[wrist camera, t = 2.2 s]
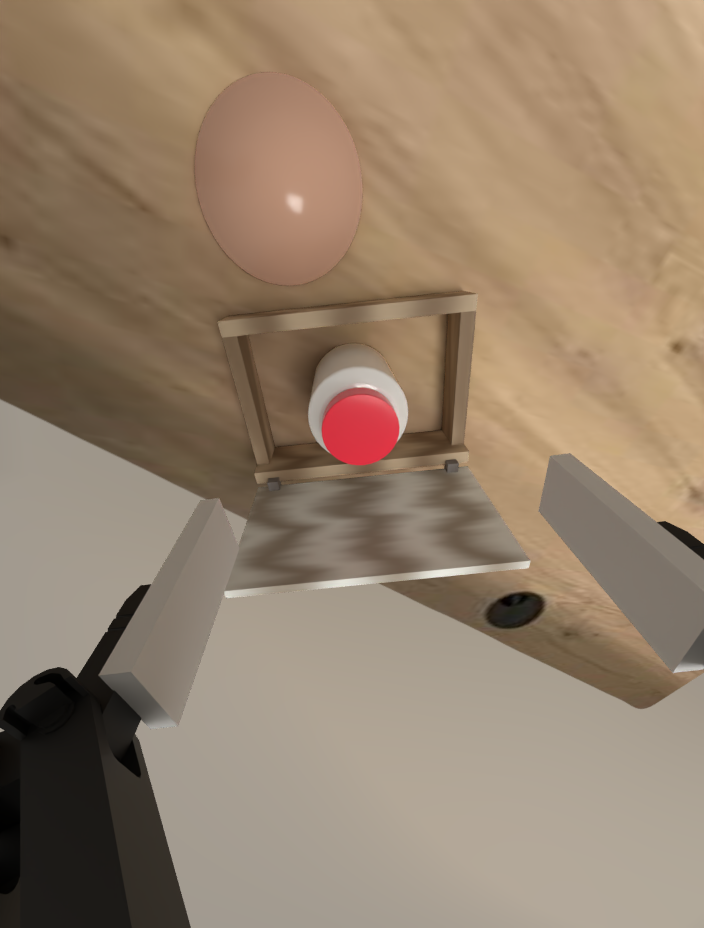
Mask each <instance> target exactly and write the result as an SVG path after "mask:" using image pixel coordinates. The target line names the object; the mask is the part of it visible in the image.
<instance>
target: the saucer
mask: <svg viewBox="0 0 704 928" xmlns="http://www.w3.org/2000/svg"><path fill="white" fill-rule="evenodd" d="M195 180H196V189H197V193H198V198H199V202H200V206H201V209H202V212H203V215H204V217H205V220H206V222H207V224H208V227H209V229H210V230H211V232H212V234H213V236H214V238H215V239H216V241H217V242H218V244H219V245H220V247H221V248H222V249H223V250H224V252H225V253H226V254H227V255H228V256H229V257H230V259H232V260H233V261H234V262H235V263H236V264H237V265H238V266H239V267H240V268H242V269H243V270H245V271H246V272H247V273H249V274H251V275H252V276H254V277H256V278H258V279H260V280H263V281H265V282H268V283H272V284H276V285H285V286H291V285H300V284H305V283H308V282H311V281H314V280H316V279H318V278H320V277H322V276H323V275H325V274H326V273H327V272H329V271H330V270H331V269H332V268H333V267H334V266H335V265H336V264H337V263H338V262H339V261H340V260H341V259H342V257H343V256H344V255H345V253H346V252H347V250H348V248H349V247H350V245H351V243H352V240H353V238H354V236H355V234H356V230H357V227H358V224H359V220H360V215H361V210H362V199H363V182H362V173H361V167H360V162H359V157H358V154H357V151H356V147H355V144H354V141H353V139H352V137H351V135H350V132H349V130H348V128H347V126H346V125H345V123H344V121H343V119H342V118H341V116H340V115H339V113H338V112H337V111H336V109H335V108H334V107H333V105H332V104H331V103H330V102H329V101H328V100H327V99H326V98H325V97H324V96H323V95H322V94H321V93H320V92H319V91H317V90H316V89H315V88H313V87H312V86H311V85H309V84H307V83H306V82H304V81H302V80H300V79H298V78H295V77H293V76H290V75H287V74H282V73H276V72H261V73H256V74H251V75H248V76H246V77H243V78H241V79H239V80H237V81H236V82H234V83H233V84H231V85H230V86H228V87H227V88H226V89H225V90H224V91H223V92H222V93H221V94H220V95H219V96H218V97H217V98H216V100H215V101H214V102H213V104H212V105H211V107H210V109H209V110H208V112H207V114H206V116H205V118H204V120H203V123H202V126H201V129H200V131H199V136H198V140H197V144H196V153H195Z"/></svg>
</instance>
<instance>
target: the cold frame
mask: <svg viewBox="0 0 704 928" xmlns="http://www.w3.org/2000/svg"><path fill="white" fill-rule="evenodd" d="M477 297H478V294H476V293H471V292H466V291H457V292H448V293H438V294H429V295H420V296H410V297H401V298H391V299H382V300H373V301H363V302H354V303H344V304H335V305H326V306H316V307H307V308H297V309H288V310H279V311H269V312H260V313H250V314H241V315H232V316H228V317H226V318H224V319H222V320H220V321H217V322H218V326H219V329H220V333H221V336H222V340H223V344H224V347H225V351H226V354H227V358H228V362H229V365H230V369H231V372H232V376H233V379H234V383H235V387H236V390H237V394H238V397H239V401H240V404H241V408H242V412H243V415H244V419H245V422H246V426H247V429H248V433H249V437H250V440H251V444H252V447H253V451H254V454H255V458H256V462H257V468H256V470H255V473H254V474H255V477H256V481H257V484H260V483H267V484H268V487H259V488H258V490H257V493H256V496H255V499H254V502H253V505H252V508H251V511H250V514H249V517H248V520H247V523H246V526H245V529H244V532H243V535H242V537H241V541H240V543H239V551H238V554H237V557H236V560H235V563H234V566H233V569H232V571H231V574H230V577H229V580H228V583H227V586H226V589H225V592H224V594H225V596H226V598H232V597H243V596H253V595H263V594H273V593H283V592H292V591H302V590H313V589H323V588H333V587H343V586H353V585H363V584H373V583H383V582H394V581H404V580H414V579H424V578H434V577H444V576H454V575H464V574H474V573H484V572H494V571H504V570H514V569H524V568H529V564H530V559H529V558H528V556H527V555H526V553H525V552H524V550H523V549H522V547H521V546H520V544H519V543H518V541H517V540H516V538H515V537H514V535H513V534H512V532H511V531H510V529H509V528H508V526H507V525H506V523H505V522H504V520H503V519H502V517H501V516H500V514H499V513H498V511H497V510H496V508H495V507H494V505H493V504H492V502H491V501H490V499H489V498H488V496H487V495H486V493H485V492H484V490H483V489H482V487H481V486H480V484H479V483H478V481H477V480H476V478H475V477H474V475H473V474H472V472H471V471H470V469H469V468H468V466H465V467H458V465H459V463H466V462H468V458H469V450H468V449H467V448H466V446H465V445H464V437H465V426H466V416H467V405H468V394H469V383H470V372H471V361H472V351H473V340H474V329H475V318H476V307H477ZM440 314H448V321H447V340H446V359H445V378H444V397H443V416H442V430H438V431H428V432H419V433H409V434H402V436H401V438H400V439H399V440H398V442H397V443H396V444H395V446H394V448H393V449H392V450H391V452H390V453H389V454H388V455H386V456H385V457H384V458H382V459H381V460H379V461H377V462H374V463H372V464H367V465H351V464H347V463H344V462H342V461H340V460H338V459H336V458H335V457H334V456H333V455H332V454H330V453H329V452H327V451H326V450H325V449H324V448H322V447H321V446H320V444H319V443H312V444H302V445H292V446H283V447H275V445H274V441H273V437H272V433H271V428H270V424H269V420H268V416H267V412H266V408H265V403H264V399H263V395H262V391H261V387H260V383H259V378H258V374H257V370H256V366H255V362H254V358H253V353H252V349H251V345H250V341H249V337H248V335H252V334H261V333H271V332H280V331H289V330H299V329H308V328H318V327H327V326H337V325H346V324H356V323H365V322H374V321H384V320H393V319H403V318H412V317H422V316H431V315H440ZM436 465H445V466H444V469H436V470H426V471H416V472H406V473H396V474H387V475H377V476H367V477H357V478H348V479H338V480H328V481H318V482H308V483H299V484H289V485H281V481H290V480H299V479H309V478H319V477H329V476H339V475H348V474H358V473H368V472H378V471H387V470H397V469H407V468H417V467H427V466H436Z"/></svg>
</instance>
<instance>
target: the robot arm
mask: <svg viewBox="0 0 704 928" xmlns="http://www.w3.org/2000/svg"><path fill="white" fill-rule="evenodd" d="M539 512H540V513H541V515H542V516H543V517H544V518H545V519H546V521H547V522H548V523H549V524H550V525H551V527H552V528H553V529H554V530H555V531H556V533H557V534H558V535H559V536H560V537H561V539H562V540H563V541H564V542H565V544H566V545H567V546H568V547H569V548H570V550H571V551H572V552H573V553H574V554H575V556H576V557H577V558H578V559H579V560H580V562H581V563H582V564H583V565H584V566H585V568H586V569H587V570H588V571H589V572H590V574H591V575H592V576H593V577H594V578H595V580H596V581H597V582H598V583H599V584H600V586H601V587H602V588H603V589H604V590H605V592H606V593H607V594H608V595H609V597H610V598H611V599H612V600H613V601H614V603H615V604H616V605H617V606H618V607H619V609H620V610H621V611H622V612H623V613H624V615H625V616H626V617H627V618H628V619H629V621H630V622H631V623H632V624H633V625H634V627H635V628H636V629H637V630H638V631H639V633H640V634H641V635H642V636H643V637H644V639H645V640H646V641H647V642H648V643H649V645H650V646H651V647H652V648H653V650H654V651H655V652H656V653H657V654H658V656H659V657H660V658H661V659H662V660H663V662H664V663H665V664H666V665H667V666H668V668H669V669H670V670H671V671H672V672H673V673H675V672H685V671H694V670H703V669H704V544H703V543H701V542H700V541H699V540H698V539H696V538H695V537H694V536H692V535H691V534H690V533H688V532H687V531H685V530H683V529H680V528H678V527H676V526H674V525H672V524H670V523H668V522H666V521H663V522H656V521H654V520H653V519H652V518H651V517H649V516H648V515H647V514H646V513H644V512H643V511H642V510H641V509H639V508H638V507H637V506H636V505H634V504H633V503H632V502H631V501H629V500H628V499H627V498H626V497H624V496H623V495H622V494H620V493H619V492H618V491H617V490H615V489H614V488H613V487H612V486H610V485H609V484H608V483H607V482H605V481H604V480H603V479H602V478H600V477H599V476H598V475H597V474H595V473H594V472H593V471H592V470H590V469H589V468H588V467H587V466H585V465H584V464H583V463H582V462H580V461H579V460H578V459H576V458H575V457H574V456H573V455H571V454H570V453H569V454H561V455H553V456H550V459H549V464H548V468H547V473H546V478H545V483H544V488H543V493H542V497H541V502H540V507H539ZM238 551H239V545H238V543H237V541H236V538H235V536H234V533H233V531H232V528H231V526H230V523H229V521H228V519H227V516H226V514H225V511H224V509H223V506H222V504H221V502H220V499H219V498H216V499H209V500H201V501H200V502H199V504H198V506H197V508H196V509H195V511H194V512H193V514H192V516H191V518H190V519H189V521H188V523H187V524H186V526H185V528H184V530H183V531H182V533H181V535H180V537H179V538H178V540H177V541H176V543H175V545H174V547H173V548H172V550H171V552H170V554H169V555H168V557H167V559H166V560H165V562H164V564H163V566H162V567H161V569H160V571H159V573H158V574H157V576H156V578H155V579H154V581H153V583H152V584H150V585H141V586H140V587H139V588H138V589H137V590H136V591H135V592H134V593H133V594H132V595H131V596H130V597H129V598H128V599H126V601H125V602H124V604H123V606H122V607H121V609H120V610H119V612H118V613H117V615H116V619H114V620H113V621H112V623H111V625H110V626H109V628H108V632H105V634H104V636H103V637H102V639H101V641H100V642H99V644H98V645H97V647H96V648H95V650H94V651H93V653H92V655H91V656H90V658H89V659H88V661H87V662H86V664H85V666H84V667H83V669H82V670H81V672H80V674H79V675H78V677H77V678H76V677H75V676H73V674H71V673H70V672H69V671H68V670H67V669H64V668H60V667H57V668H53V669H49V670H46V671H44V672H42V673H40V674H38V675H36V676H34V677H33V678H31V679H30V680H28V681H27V682H26V683H24V684H23V685H22V686H20V687H19V688H18V689H17V690H16V691H15V692H14V693H13V694H12V695H11V696H10V698H8V700H7V701H6V703H5V704H4V706H3V707H2V709H1V710H0V728H2V729H3V730H5V731H3V732H0V928H191V927H190V924H189V920H188V916H187V913H186V909H185V905H184V902H183V898H182V894H181V891H180V887H179V883H178V880H177V876H176V873H175V869H174V865H173V862H172V858H171V854H170V851H169V847H168V844H167V840H166V836H165V833H164V830H163V825H162V822H161V819H160V815H159V811H158V807H157V804H156V800H155V797H154V793H153V790H152V786H151V782H150V779H149V775H148V771H147V768H146V764H145V760H144V757H143V754H142V749H141V746H140V742H139V740H138V738H137V737H136V735H135V732H136V730H137V727H138V725H139V723H140V720H142V721H143V722H144V723H145V724H146V725H147V726H148V727H149V728H150V729H156V728H165V727H175V726H178V725H179V722H180V719H181V716H182V714H183V711H184V708H185V705H186V702H187V699H188V696H189V693H190V690H191V687H192V684H193V682H194V679H195V676H196V673H197V670H198V667H199V664H200V661H201V658H202V655H203V653H204V650H205V647H206V644H207V641H208V638H209V635H210V632H211V629H212V626H213V624H214V620H215V618H216V615H217V612H218V609H219V606H220V603H221V600H222V597H223V595H224V592H225V589H226V586H227V583H228V580H229V577H230V574H231V571H232V569H233V566H234V563H235V560H236V557H237V554H238Z"/></svg>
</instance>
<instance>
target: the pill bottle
mask: <svg viewBox="0 0 704 928" xmlns="http://www.w3.org/2000/svg"><path fill="white" fill-rule="evenodd" d="M308 421H309V426H310V429H311V432H312V434H313V436H314V437H315V439H316V441H317V442H318V443H319V444H320V446H321V447H322V448H324V449H325V450H326V451H327V452H329V453H330V454H332V455H333V456H334V457H335V458H336V459H338V460H340V461H342V462H344V463H347V464H351V465H367V464H372V463H374V462H377V461H379V460H381V459H382V458H384V457H385V456H386V455H388V454H389V453H390V452H391V450H392V449H393V448H394V446H395V444H396V443H397V442H398V440H399V439H400V438H401V436H402V434H403V432H404V430H405V427H406V424H407V421H408V405H407V400H406V397H405V394H404V392H403V390H402V388H401V386H400V384H399V383H398V381H397V379H396V377H395V375H394V373H393V372H392V370H391V368H390V366H389V364H388V363H387V361H386V360H385V358H384V357H383V356H382V355H381V354H380V353H379V352H378V351H376V350H375V349H373V348H372V347H369V346H367V345H364V344H358V343H348V344H344V345H340V346H338V347H336V348H334V349H332V350H331V351H329V352H328V353H327V354H326V355H325V356H324V357H323V358H322V359H321V361H320V362H319V364H318V366H317V368H316V371H315V374H314V380H313V385H312V391H311V396H310V401H309V408H308Z"/></svg>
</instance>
